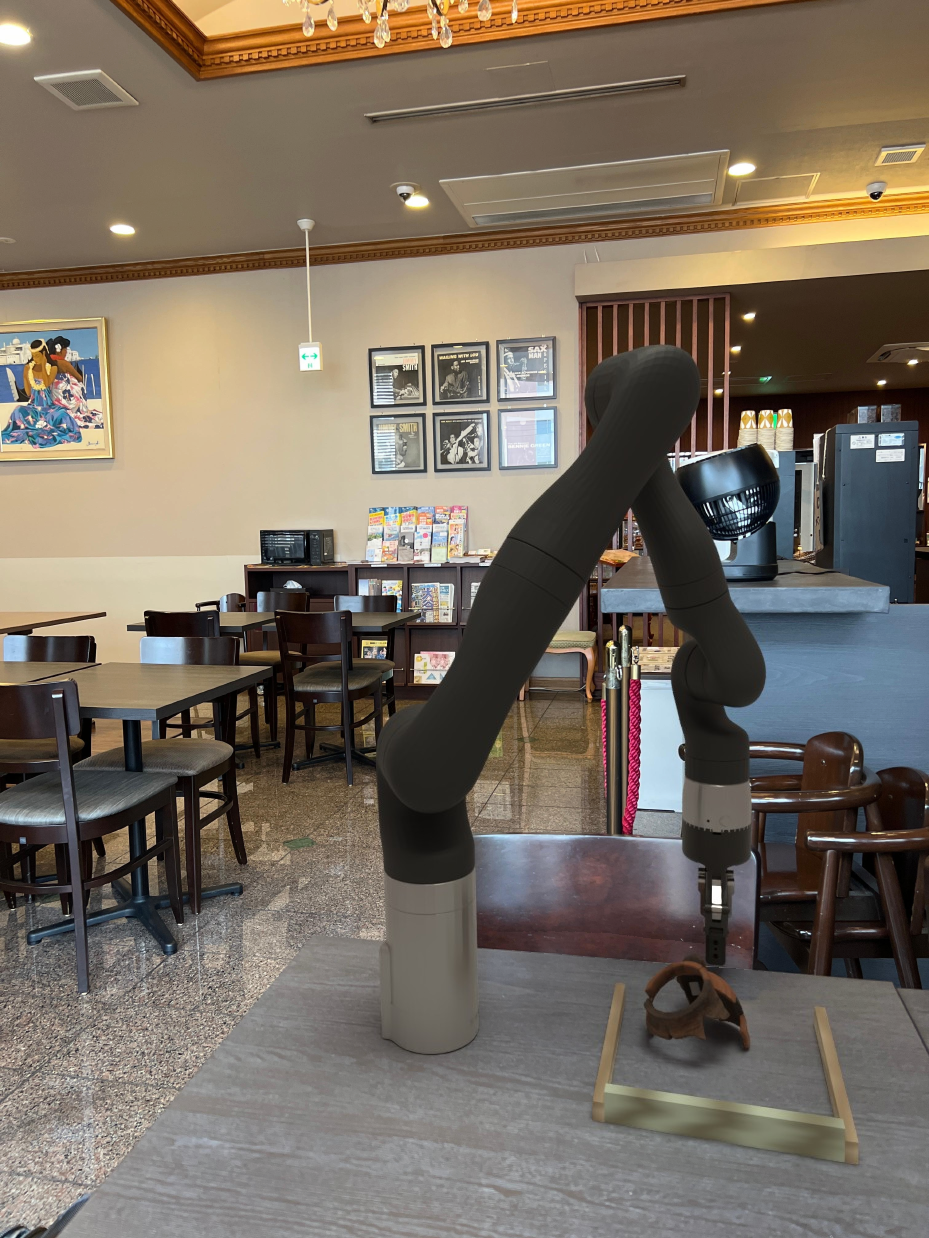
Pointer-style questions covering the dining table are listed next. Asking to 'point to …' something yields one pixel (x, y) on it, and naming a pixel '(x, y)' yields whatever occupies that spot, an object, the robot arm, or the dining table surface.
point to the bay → (730, 1106)
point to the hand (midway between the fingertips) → (715, 961)
